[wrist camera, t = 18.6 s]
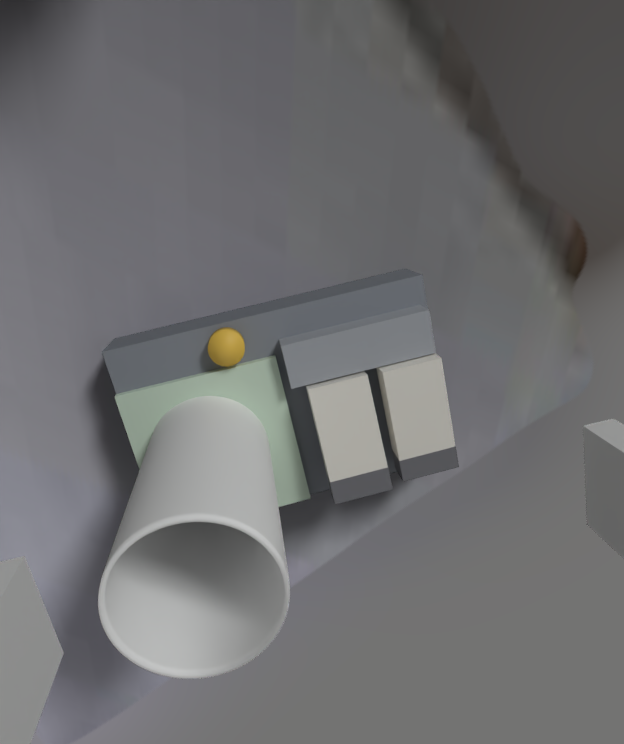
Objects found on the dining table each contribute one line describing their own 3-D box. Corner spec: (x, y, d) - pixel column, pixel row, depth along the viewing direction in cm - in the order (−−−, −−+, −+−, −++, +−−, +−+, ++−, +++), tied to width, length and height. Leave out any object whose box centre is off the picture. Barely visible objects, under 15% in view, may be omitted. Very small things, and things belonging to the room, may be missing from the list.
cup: (226, 524, 42) (221, 706, 27) (126, 467, 40) (59, 630, 24) (292, 436, 41) (327, 574, 25) (193, 372, 38) (166, 482, 23)
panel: (114, 338, 42) (90, 364, 35) (405, 268, 43) (437, 280, 36) (169, 505, 46) (158, 556, 39) (434, 437, 47) (467, 475, 40)
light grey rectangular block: (307, 389, 37) (335, 504, 39) (367, 374, 37) (392, 489, 39) (304, 383, 39) (331, 493, 41) (362, 369, 39) (386, 478, 41)
